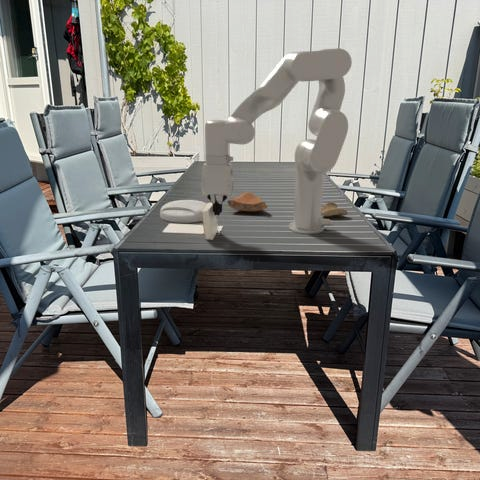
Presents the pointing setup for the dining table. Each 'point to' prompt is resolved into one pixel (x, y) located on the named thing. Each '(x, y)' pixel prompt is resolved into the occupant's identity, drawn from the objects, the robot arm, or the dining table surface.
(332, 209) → the pottery shard
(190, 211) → the round ceiling alarm
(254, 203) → the ceramic shard
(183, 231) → the mat
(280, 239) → the dining table surface
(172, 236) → the dining table surface
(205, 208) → the glazed tile
